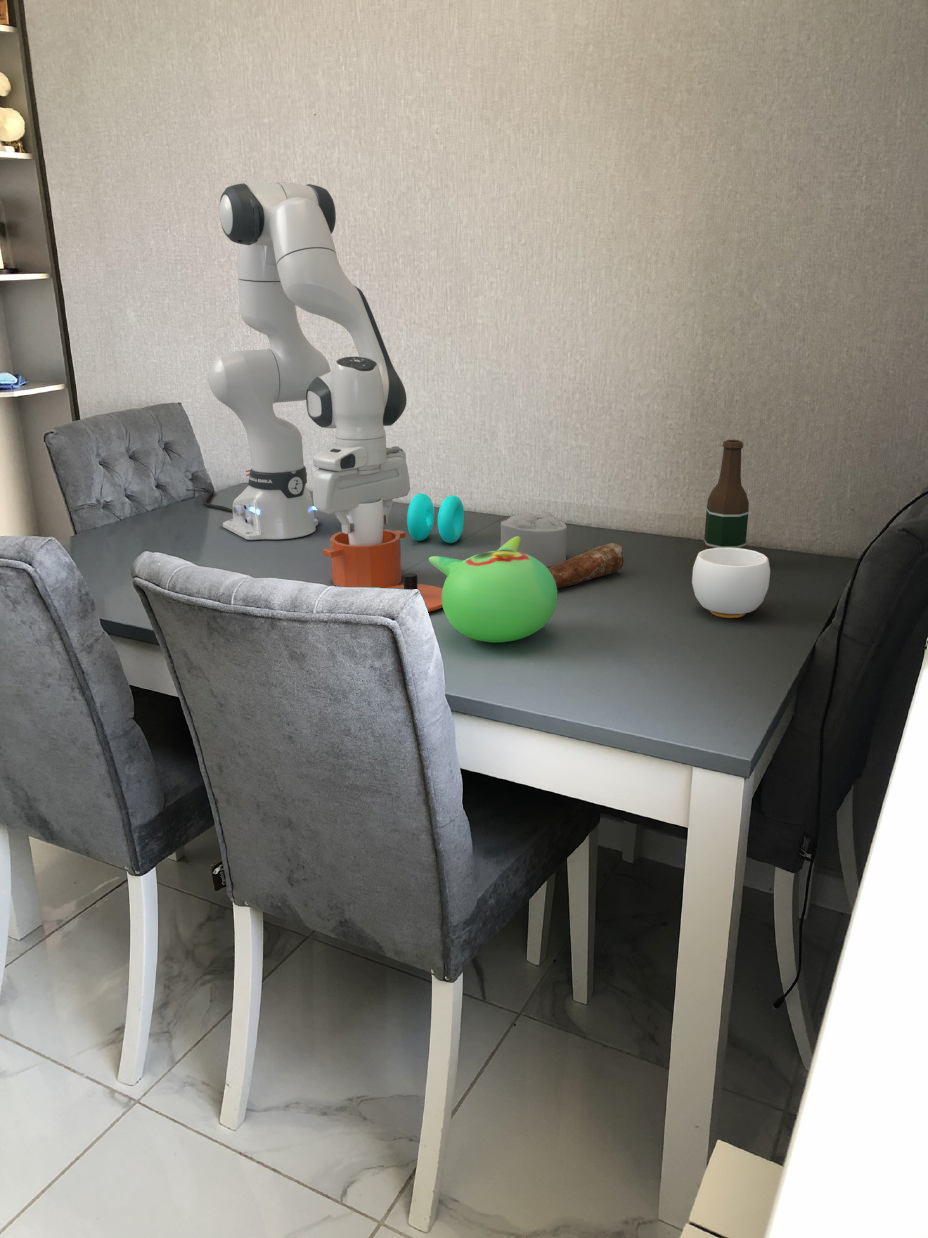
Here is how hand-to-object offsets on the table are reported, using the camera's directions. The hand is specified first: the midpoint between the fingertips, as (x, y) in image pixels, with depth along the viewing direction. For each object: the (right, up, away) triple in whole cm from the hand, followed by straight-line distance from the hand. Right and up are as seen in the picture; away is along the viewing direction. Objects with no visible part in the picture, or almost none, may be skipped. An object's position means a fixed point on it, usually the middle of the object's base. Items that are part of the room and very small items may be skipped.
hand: (365, 528), depth 176 cm
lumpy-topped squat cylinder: (+32, -5, +16) cm, 36 cm away
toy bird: (+23, -19, -24) cm, 39 cm away
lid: (+9, -13, -8) cm, 18 cm away
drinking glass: (0, -9, +4) cm, 10 cm away
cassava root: (+40, -10, +2) cm, 41 cm away
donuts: (+12, 0, +29) cm, 31 cm away
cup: (+62, -16, -15) cm, 66 cm away
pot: (0, -9, +4) cm, 10 cm away
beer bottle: (+68, -6, +10) cm, 69 cm away
